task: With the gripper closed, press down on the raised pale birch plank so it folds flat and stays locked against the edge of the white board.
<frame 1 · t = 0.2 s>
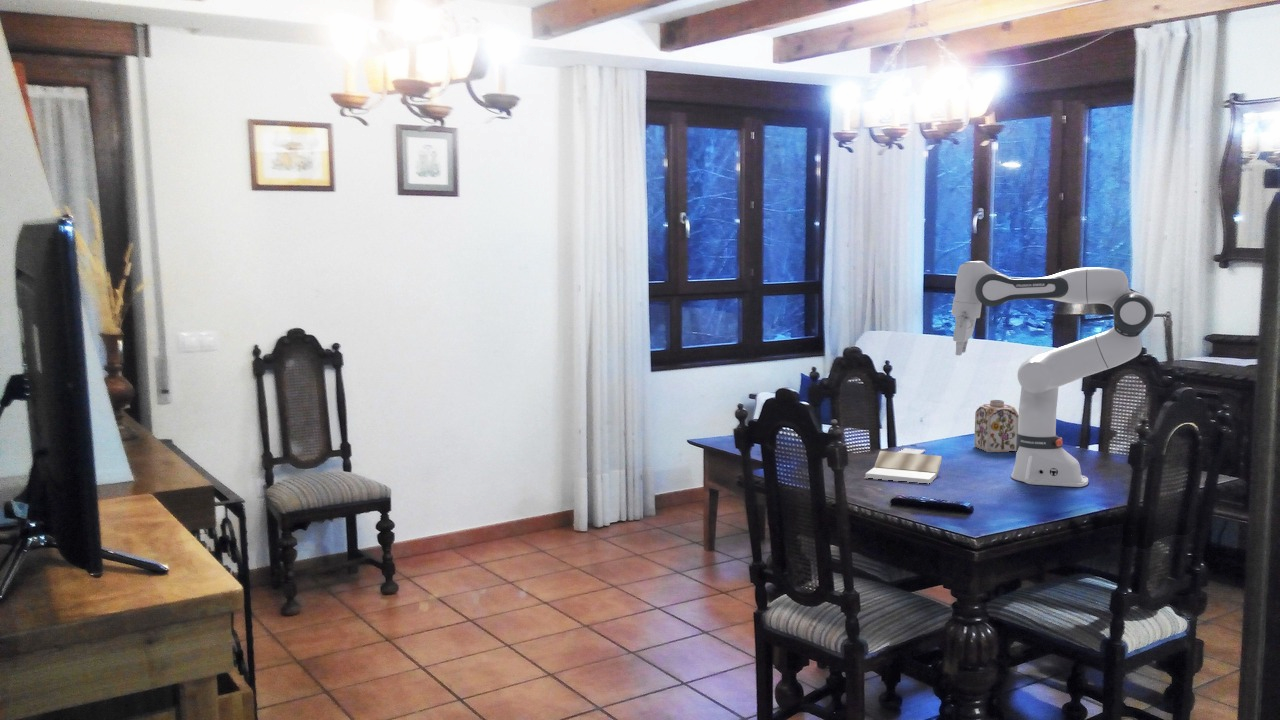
hand: (960, 353, 333), 39 cm above the table, tool pointing down, fingers open, 8 cm apart
birch plank: (907, 463, 336), point 3 cm above the table, hinge at 30.0°
baseboard: (900, 460, 359), on the table
white board: (900, 478, 328), on the table
decorative jar: (996, 450, 374), on the table
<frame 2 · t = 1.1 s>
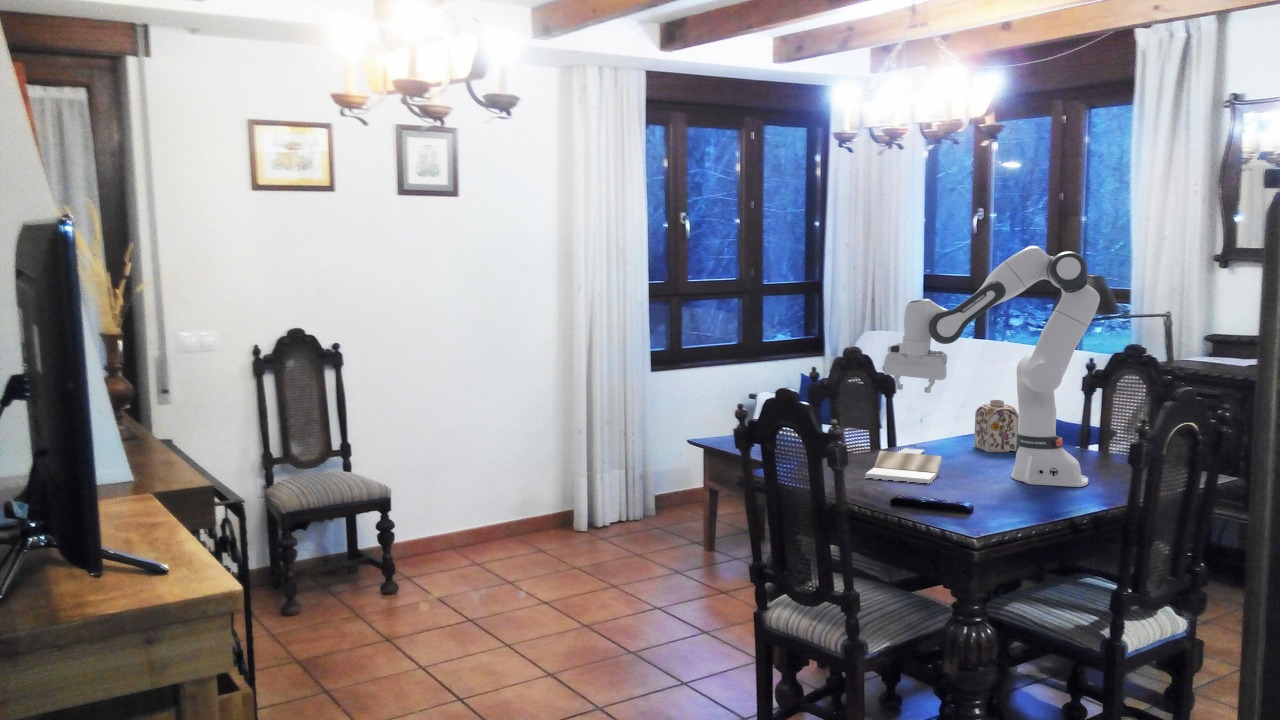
hand: (913, 391, 336), 26 cm above the table, tool pointing down, fingers open, 8 cm apart
nothing on the table moved.
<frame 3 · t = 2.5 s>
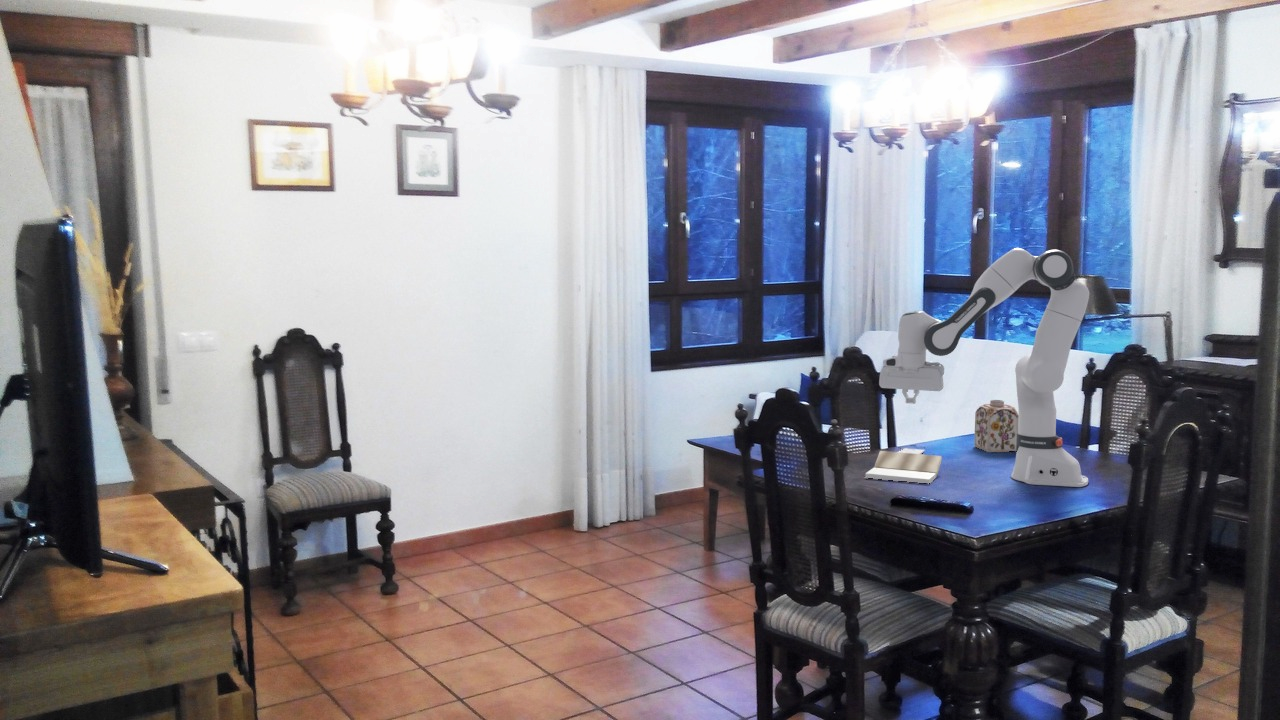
hand: (910, 403, 336), 22 cm above the table, tool pointing down, fingers closed
nothing on the table moved.
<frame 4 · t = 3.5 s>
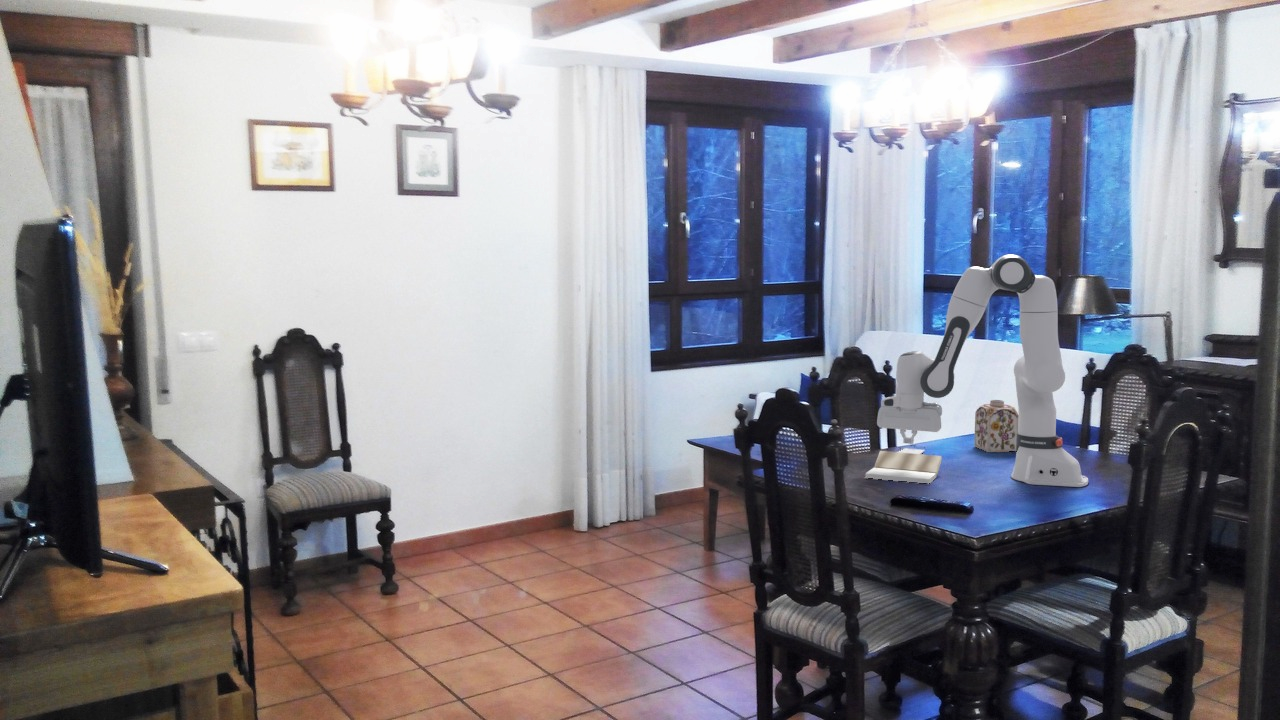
hand: (908, 443, 336), 10 cm above the table, tool pointing down, fingers closed
nothing on the table moved.
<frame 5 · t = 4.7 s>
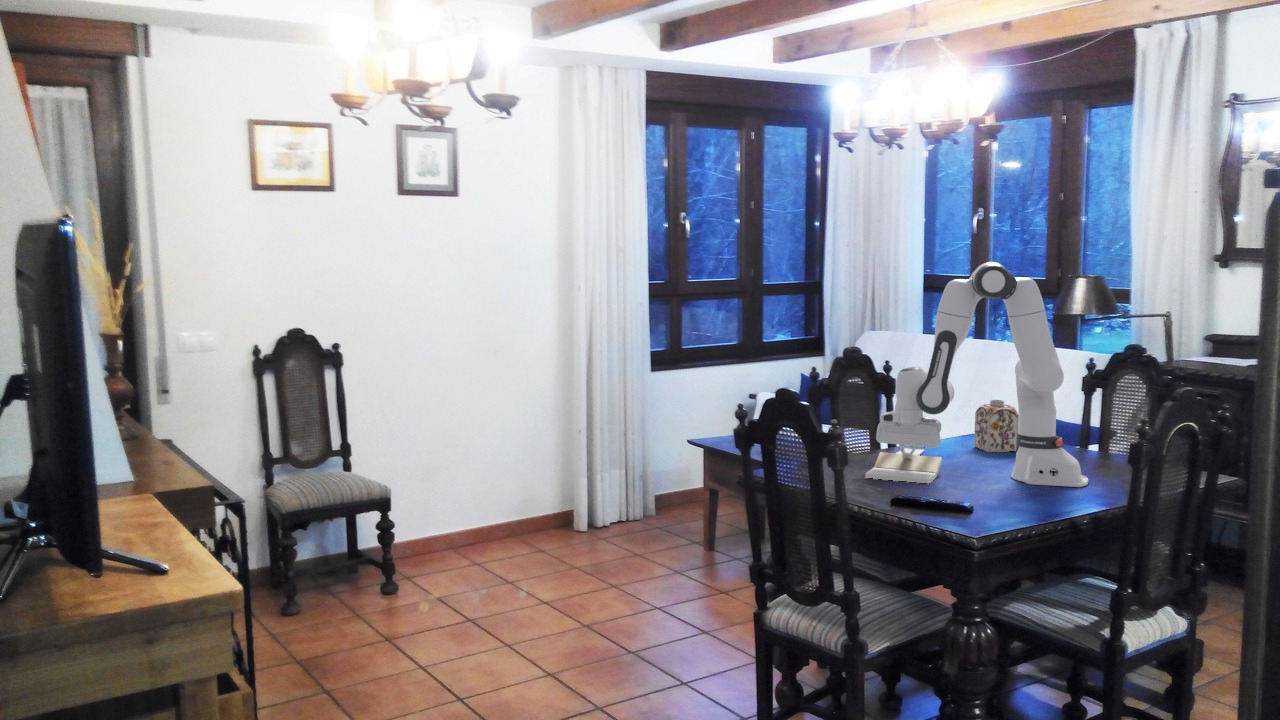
hand: (907, 458, 336), 4 cm above the table, tool pointing down, fingers closed, pressing on birch plank
birch plank: (907, 463, 336), point 3 cm above the table, hinge at 26.1°, touching gripper
everything else where it was.
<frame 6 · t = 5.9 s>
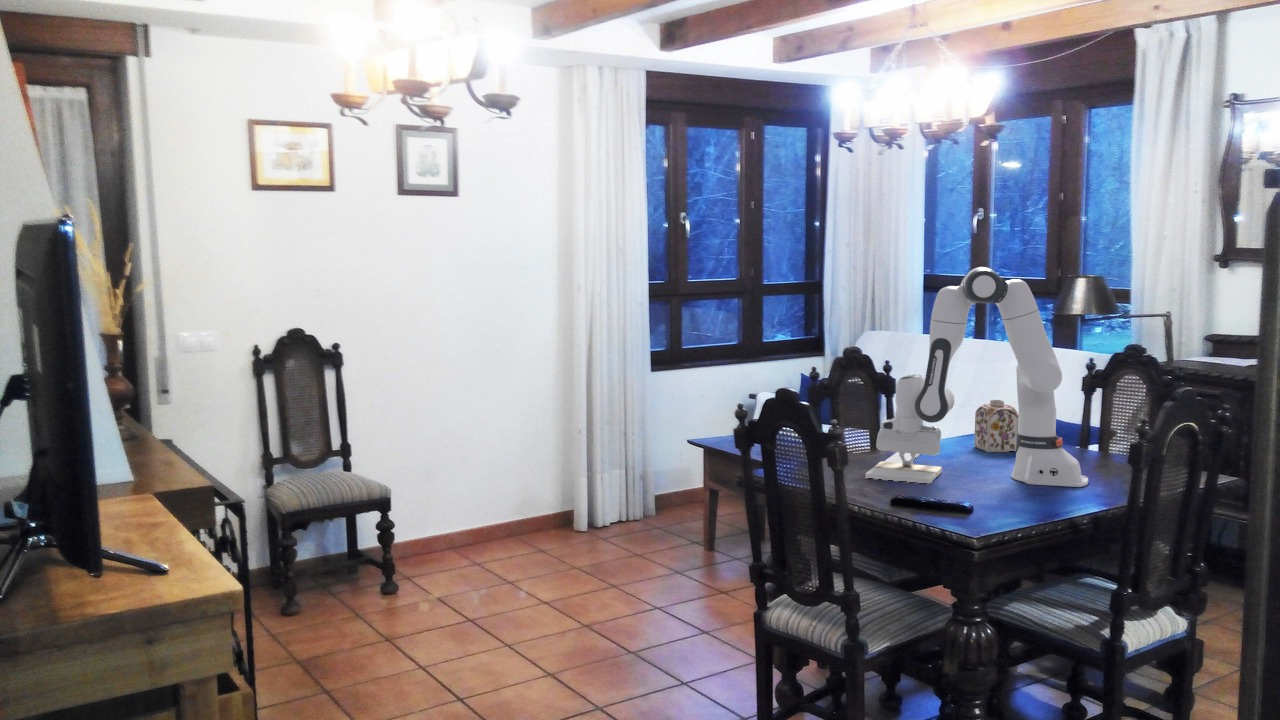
hand: (907, 466, 337), 2 cm above the table, tool pointing down, fingers closed, pressing on birch plank
birch plank: (907, 469, 336), point 1 cm above the table, hinge at 2.5°, touching gripper
everything else where it was.
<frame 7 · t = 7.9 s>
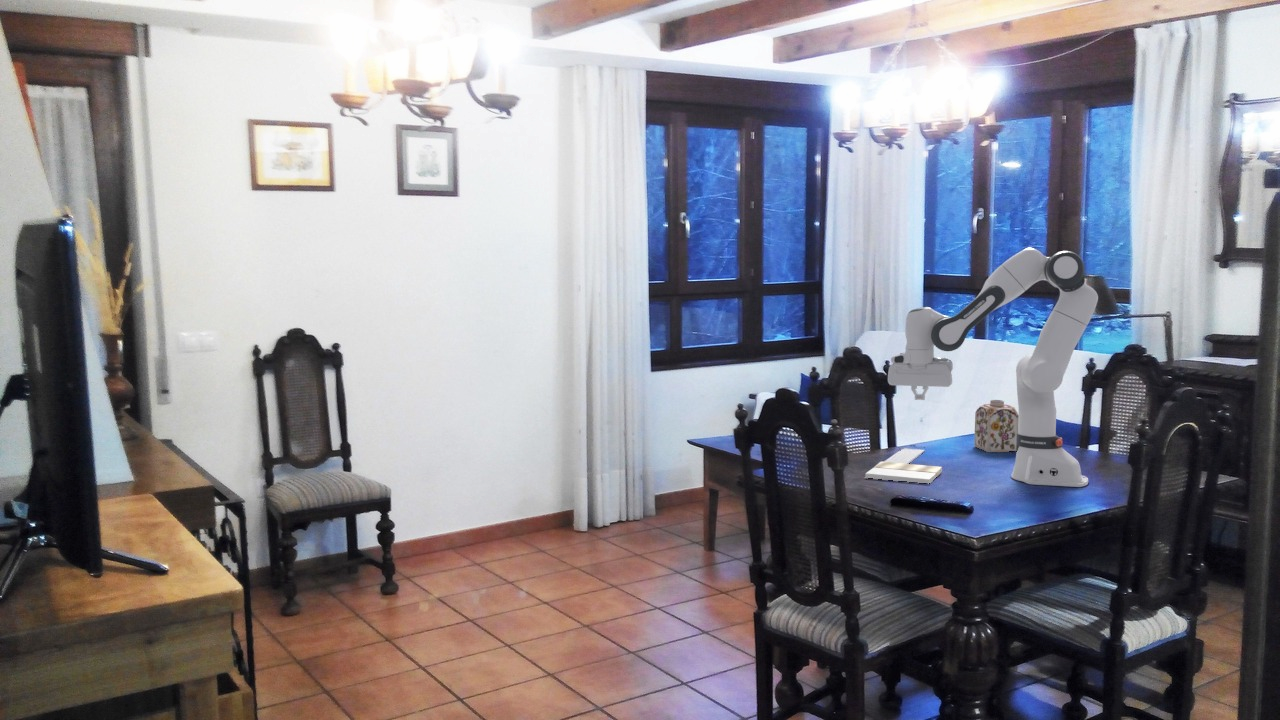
hand: (919, 399, 336), 24 cm above the table, tool pointing down, fingers closed
birch plank: (907, 469, 336), point 1 cm above the table, hinge at 2.5°
everything else where it was.
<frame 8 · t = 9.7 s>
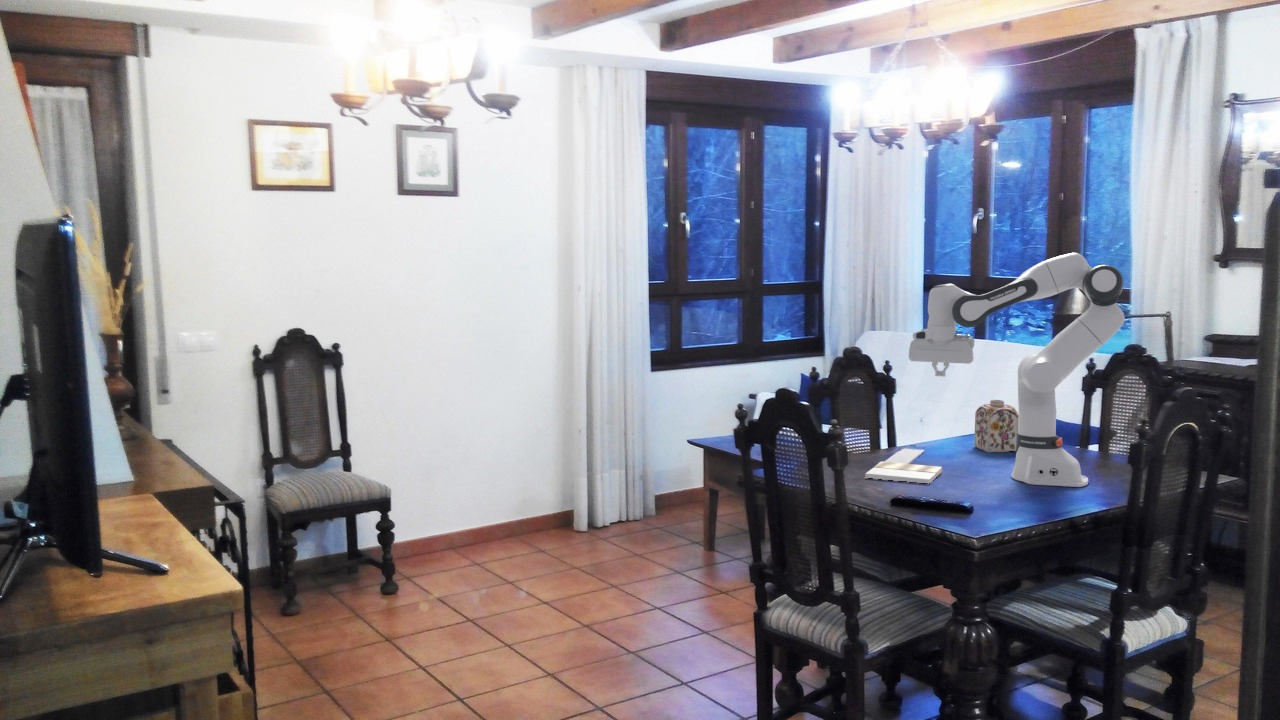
hand: (940, 376, 336), 31 cm above the table, tool pointing down, fingers closed
nothing on the table moved.
at the end: birch plank at +2° (first picture: +30°) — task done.
